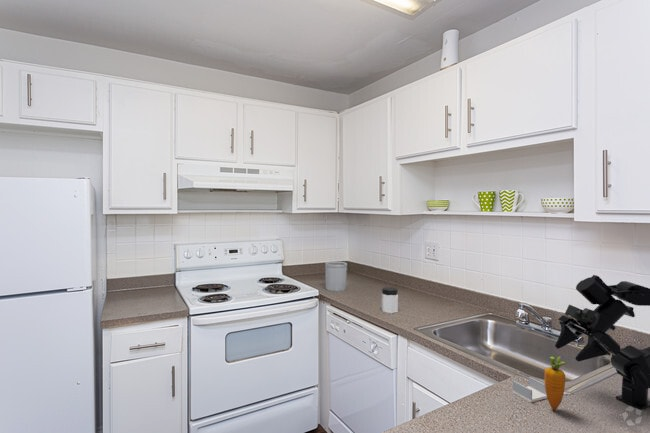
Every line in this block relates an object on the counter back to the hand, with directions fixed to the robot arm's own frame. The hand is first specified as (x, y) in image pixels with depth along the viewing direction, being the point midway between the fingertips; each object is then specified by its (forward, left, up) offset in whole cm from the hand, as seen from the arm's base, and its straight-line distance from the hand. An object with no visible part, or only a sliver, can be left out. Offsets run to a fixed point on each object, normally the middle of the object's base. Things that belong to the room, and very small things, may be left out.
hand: (565, 353), depth 106 cm
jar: (0, -96, -14) cm, 97 cm away
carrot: (+9, +3, -14) cm, 16 cm away
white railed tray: (+8, -5, -13) cm, 16 cm away
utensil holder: (+6, -154, -14) cm, 154 cm away
